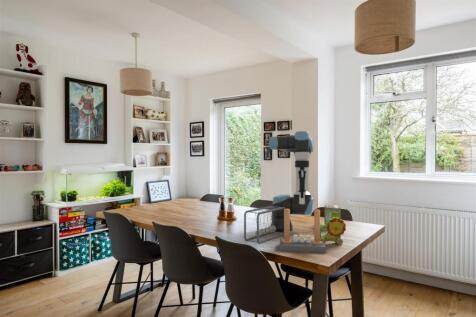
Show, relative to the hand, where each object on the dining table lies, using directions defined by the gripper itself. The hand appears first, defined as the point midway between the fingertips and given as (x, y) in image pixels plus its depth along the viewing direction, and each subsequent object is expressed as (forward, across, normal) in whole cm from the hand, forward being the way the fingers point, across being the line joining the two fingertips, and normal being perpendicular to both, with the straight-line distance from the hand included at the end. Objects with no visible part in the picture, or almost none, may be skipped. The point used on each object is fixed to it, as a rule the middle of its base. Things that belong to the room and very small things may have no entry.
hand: (302, 203), depth 174 cm
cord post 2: (+21, 0, +8) cm, 23 cm away
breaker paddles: (+21, 0, 0) cm, 21 cm away
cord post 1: (+21, 0, -8) cm, 23 cm away
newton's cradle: (+24, -20, -21) cm, 38 cm away
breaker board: (+24, 0, 0) cm, 24 cm away
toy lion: (+24, -12, +17) cm, 32 cm away
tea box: (+24, -58, +23) cm, 66 cm away
